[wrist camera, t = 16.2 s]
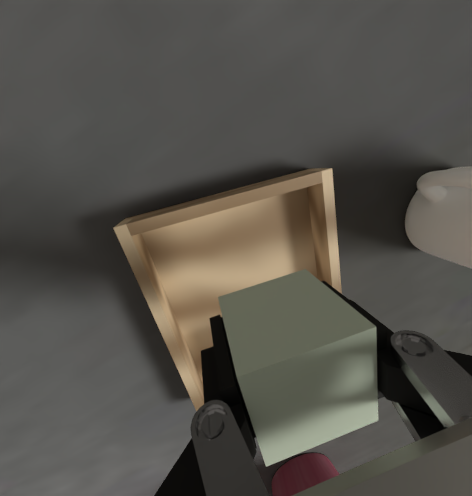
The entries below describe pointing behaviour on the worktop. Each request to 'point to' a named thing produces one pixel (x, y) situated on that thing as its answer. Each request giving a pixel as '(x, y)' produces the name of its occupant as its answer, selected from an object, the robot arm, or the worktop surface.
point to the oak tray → (228, 254)
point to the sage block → (301, 363)
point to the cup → (443, 215)
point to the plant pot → (302, 474)
